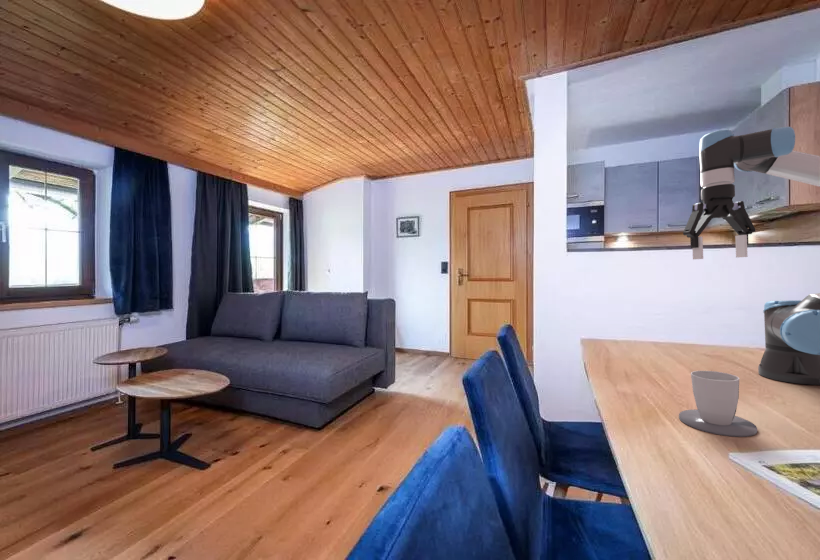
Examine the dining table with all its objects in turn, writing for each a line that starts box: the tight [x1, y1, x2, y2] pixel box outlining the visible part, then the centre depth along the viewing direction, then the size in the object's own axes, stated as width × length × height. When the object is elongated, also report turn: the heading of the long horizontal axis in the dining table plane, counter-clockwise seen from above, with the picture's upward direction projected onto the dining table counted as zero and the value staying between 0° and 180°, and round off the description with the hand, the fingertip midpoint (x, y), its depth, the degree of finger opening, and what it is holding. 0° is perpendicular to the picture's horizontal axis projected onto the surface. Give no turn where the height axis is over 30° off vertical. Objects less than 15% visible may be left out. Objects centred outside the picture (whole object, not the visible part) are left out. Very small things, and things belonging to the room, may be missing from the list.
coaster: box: [678, 409, 758, 438], centre depth 78 cm, size 13×13×1 cm
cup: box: [690, 370, 740, 425], centre depth 78 cm, size 8×8×10 cm
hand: (719, 258), depth 104 cm, fingers open, 13 cm apart
